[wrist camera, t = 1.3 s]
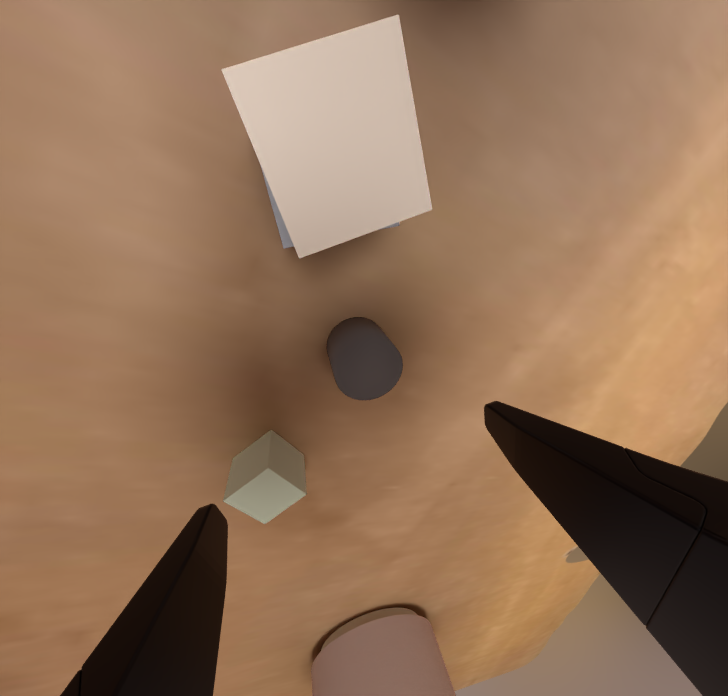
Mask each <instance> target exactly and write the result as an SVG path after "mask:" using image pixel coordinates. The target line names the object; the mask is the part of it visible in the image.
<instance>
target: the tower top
mask: <svg viewBox="0 0 728 696" xmlns="http://www.w3.org/2000/svg"><path fill="white" fill-rule="evenodd" d="M221 70H222V72H223V75H224V77H225V79H226V82H227V84H228V87H229V89H230V92H231V94H232V96H233V99H234V101H235V104H236V106H237V109H238V111H239V113H240V116H241V118H242V121H243V123H244V126H245V128H246V130H247V133H248V135H249V138H250V140H251V143H252V145H253V148H254V150H255V152H256V155H257V157H258V160H259V162H260V165H261V167H262V169H263V172H264V174H265V177H266V179H267V182H268V184H269V186H270V189H271V191H272V194H273V196H274V199H275V201H276V203H277V206H278V208H279V211H280V213H281V216H282V218H283V220H284V223H285V225H286V228H287V230H288V233H289V235H290V238H291V240H292V242H293V245H294V247H295V250H296V252H297V255H298V257H299V259H300V258H302V257H305V256H308V255H311V254H313V253H316V252H319V251H321V250H324V249H327V248H330V247H332V246H335V245H338V244H340V243H343V242H346V241H349V240H351V239H354V238H357V237H359V236H362V235H365V234H368V233H370V232H373V231H376V230H379V229H381V228H384V227H387V226H389V225H392V224H395V223H398V222H400V221H403V220H406V219H408V218H411V217H414V216H417V215H419V214H422V213H425V212H427V211H430V210H432V205H431V199H430V193H429V187H428V181H427V176H426V170H425V164H424V158H423V152H422V146H421V141H420V135H419V129H418V123H417V117H416V112H415V106H414V100H413V94H412V88H411V83H410V77H409V71H408V65H407V59H406V54H405V48H404V42H403V36H402V30H401V25H400V19H399V14H398V15H395V16H392V17H388V18H385V19H382V20H379V21H376V22H372V23H369V24H366V25H363V26H359V27H356V28H353V29H350V30H347V31H343V32H340V33H337V34H334V35H331V36H327V37H324V38H321V39H318V40H314V41H311V42H308V43H305V44H302V45H298V46H295V47H292V48H289V49H286V50H282V51H279V52H276V53H273V54H269V55H266V56H263V57H260V58H257V59H253V60H250V61H247V62H244V63H241V64H237V65H234V66H231V67H228V68H224V69H221Z"/></svg>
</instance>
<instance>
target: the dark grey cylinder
mask: <svg viewBox="0 0 728 696" xmlns="http://www.w3.org/2000/svg"><path fill="white" fill-rule="evenodd" d="M327 352H328V356H329V360H330V363H331V367H332V370H333V374H334V377H335V381H336V383H337V386H338V387H339V389H340V390H341V391H342V392H343V393H344V394H345V395H347V396H348V397H350V398H353V399H357V400H371V399H375V398H378V397H380V396H383V395H384V394H386V393H387V392H389V391H390V390H391V389H392V388H393V387H394V386H395V385H396V383H397V382H398V380H399V378H400V376H401V373H402V367H403V363H402V357H401V355H400V353H399V351H398V350H397V348H396V347H395V346H394V345H393V343H392V342H391V341H390V340H389V338H388V337H387V336H386V335H385V333H384V332H383V331H382V330H381V329H380V327H379V326H378V325H377V324H376V323H375V322H373V321H371V320H370V319H367V318H362V317H354V318H349V319H346V320H344V321H342V322H341V323H339V324H338V325H337V326H336V327H335V328H334V329H333V330H332V332H331V333H330V335H329V337H328V341H327Z"/></svg>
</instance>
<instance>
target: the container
mask: <svg viewBox="0 0 728 696" xmlns="http://www.w3.org/2000/svg"><path fill="white" fill-rule="evenodd" d="M311 674H312V694H313V696H456V695H455V692H454V689H453V686H452V683H451V680H450V677H449V674H448V672H447V669H446V666H445V663H444V660H443V657H442V654H441V651H440V649H439V646H438V643H437V640H436V637H435V634H434V631H433V629H432V626H431V623H430V622H429V621H428V620H427V619H426V618H424V617H422V616H418V615H417V614H416V613H415V612H414V611H412V610H410V609H406V608H387V609H382V610H377V611H374V612H371V613H368V614H365V615H362V616H360V617H358V618H356V619H354V620H352V621H350V622H348V623H346V624H345V625H343V626H342V627H340V628H339V629H337V630H336V631H335V632H334V633H333V634H331V635H330V636H329V638H328V639H327V640H326V641H325V643H324V644H323V646H322V649H321V652H320V653H319V654H318V655H317V657H316V658H315V660H314V662H313V664H312V668H311Z"/></svg>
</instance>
